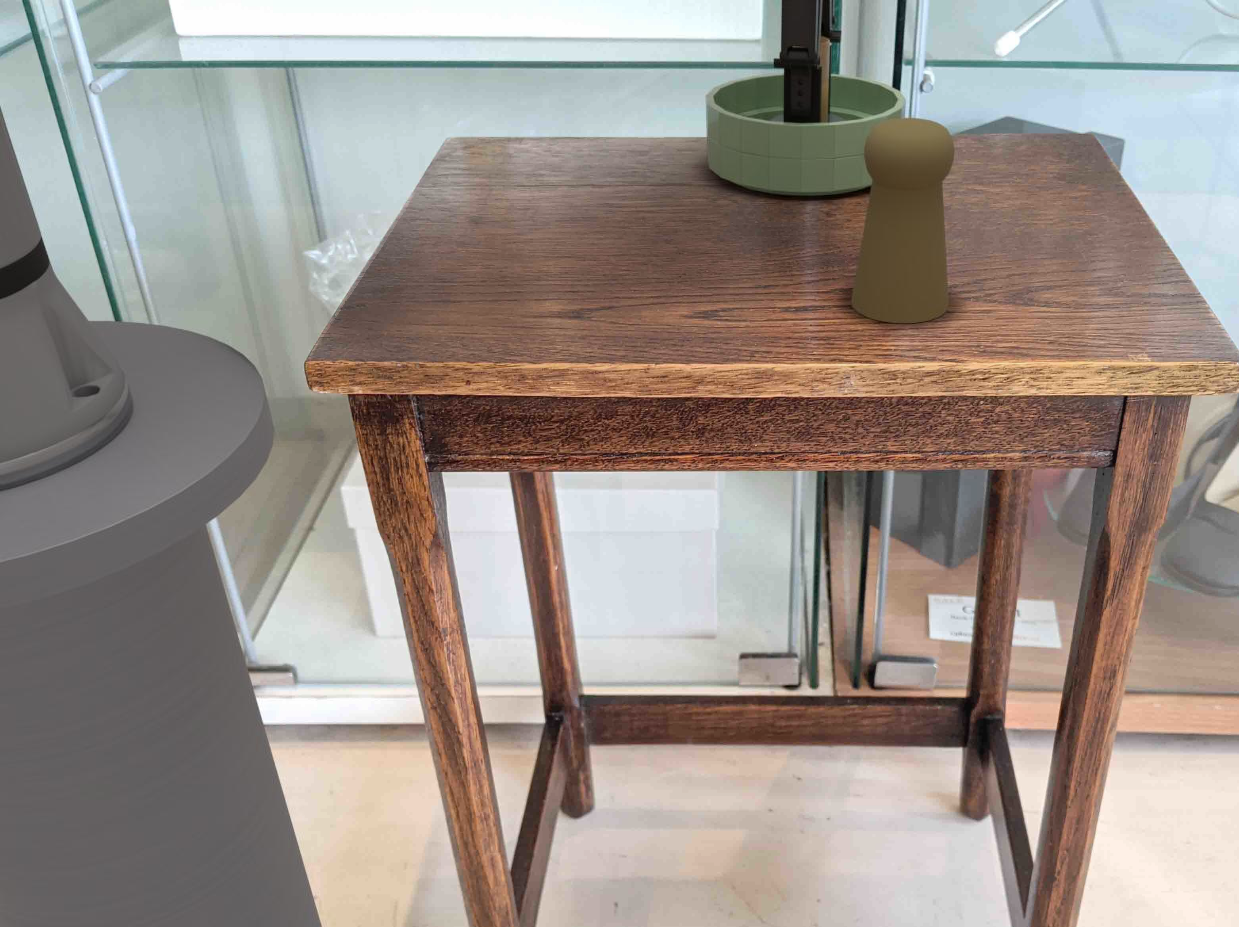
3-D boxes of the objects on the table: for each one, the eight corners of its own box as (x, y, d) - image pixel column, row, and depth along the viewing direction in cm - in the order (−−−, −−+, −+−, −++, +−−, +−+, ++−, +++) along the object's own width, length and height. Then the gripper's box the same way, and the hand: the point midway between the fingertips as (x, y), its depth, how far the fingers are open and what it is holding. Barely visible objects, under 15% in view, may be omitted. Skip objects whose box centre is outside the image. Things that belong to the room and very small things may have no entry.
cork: (864, 327, 78) (873, 140, 71) (840, 288, 83) (846, 111, 76) (961, 319, 79) (978, 134, 72) (932, 282, 84) (945, 105, 77)
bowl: (798, 215, 94) (799, 137, 91) (669, 166, 103) (666, 94, 100) (940, 172, 102) (946, 100, 99) (808, 130, 112) (810, 63, 109)
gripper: (856, -191, 79) (843, 185, 93) (879, -212, 95) (865, 113, 108) (735, -193, 80) (739, 180, 93) (777, -213, 96) (776, 109, 109)
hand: (807, 143), depth 101 cm, fingers closed on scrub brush, 6 cm apart
